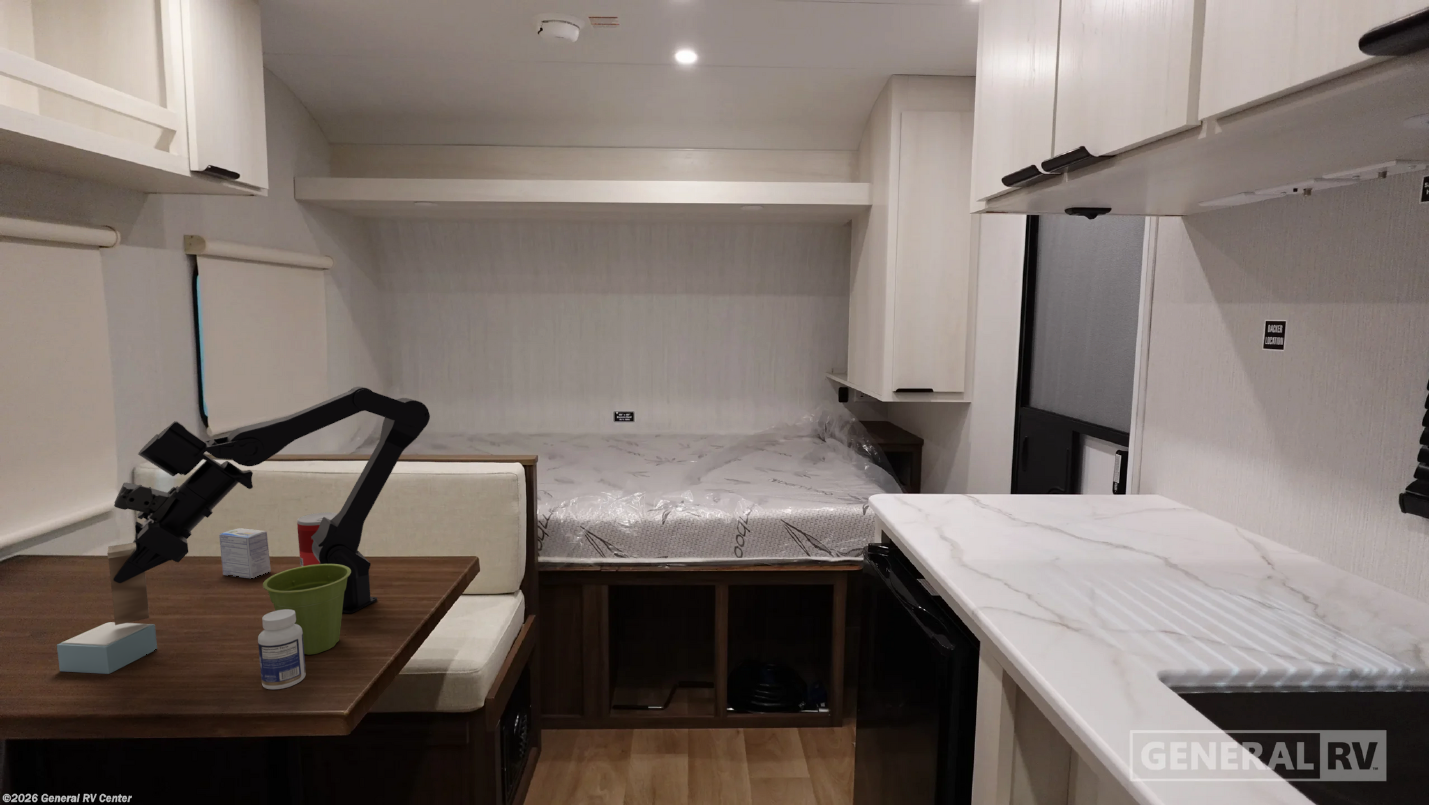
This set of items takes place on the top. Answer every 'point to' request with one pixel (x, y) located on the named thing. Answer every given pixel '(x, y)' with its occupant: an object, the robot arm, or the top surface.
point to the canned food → (309, 535)
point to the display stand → (106, 647)
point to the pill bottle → (281, 650)
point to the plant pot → (312, 601)
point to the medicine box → (245, 553)
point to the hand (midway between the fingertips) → (116, 577)
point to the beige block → (127, 588)
